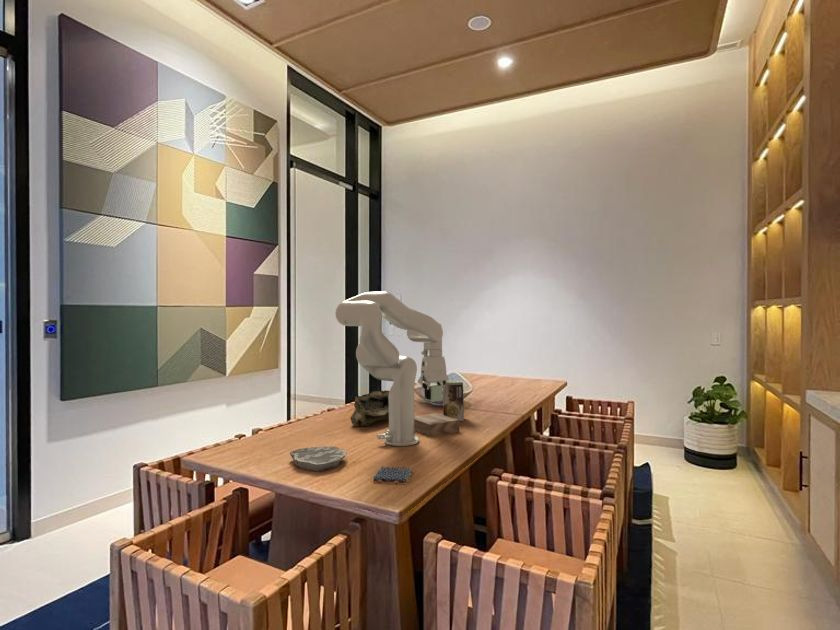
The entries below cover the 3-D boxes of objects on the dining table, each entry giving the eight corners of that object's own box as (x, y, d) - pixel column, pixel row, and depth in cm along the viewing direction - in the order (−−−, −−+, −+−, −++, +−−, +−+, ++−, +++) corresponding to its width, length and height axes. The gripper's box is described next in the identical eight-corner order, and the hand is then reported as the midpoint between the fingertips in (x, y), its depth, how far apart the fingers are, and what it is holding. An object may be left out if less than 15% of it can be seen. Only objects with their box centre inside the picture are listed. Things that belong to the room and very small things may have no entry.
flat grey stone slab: (359, 463, 154) (359, 454, 154) (313, 477, 142) (313, 466, 142) (325, 451, 168) (325, 442, 168) (280, 462, 156) (280, 453, 156)
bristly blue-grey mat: (371, 484, 136) (370, 477, 136) (380, 472, 147) (380, 465, 147) (407, 486, 134) (407, 479, 134) (414, 474, 145) (414, 467, 145)
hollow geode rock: (396, 425, 224) (379, 400, 230) (411, 409, 218) (394, 382, 225) (351, 436, 202) (335, 407, 208) (367, 418, 196) (350, 389, 203)
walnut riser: (430, 437, 186) (429, 424, 186) (408, 429, 199) (408, 417, 199) (459, 432, 193) (459, 419, 193) (436, 424, 207) (436, 413, 207)
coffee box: (464, 418, 217) (463, 382, 217) (463, 421, 211) (463, 384, 211) (443, 417, 218) (443, 381, 218) (442, 421, 212) (442, 384, 212)
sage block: (432, 401, 193) (431, 386, 193) (425, 399, 197) (424, 385, 197) (442, 400, 196) (442, 385, 196) (435, 398, 200) (434, 383, 200)
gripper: (420, 355, 188) (421, 402, 189) (455, 352, 198) (456, 397, 198) (410, 354, 194) (411, 399, 195) (444, 351, 204) (445, 394, 204)
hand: (433, 397), depth 196 cm, fingers closed on sage block, 5 cm apart
